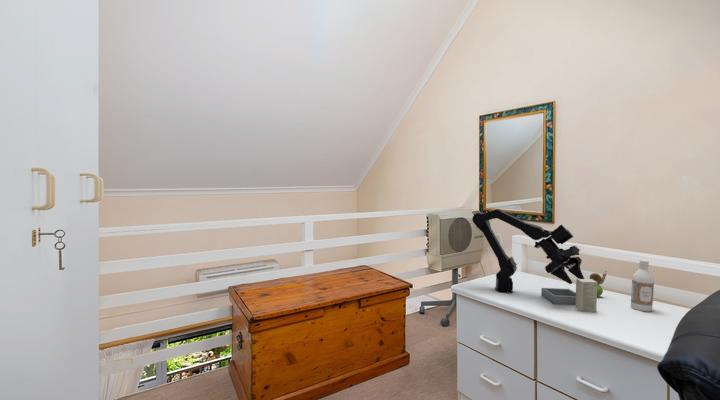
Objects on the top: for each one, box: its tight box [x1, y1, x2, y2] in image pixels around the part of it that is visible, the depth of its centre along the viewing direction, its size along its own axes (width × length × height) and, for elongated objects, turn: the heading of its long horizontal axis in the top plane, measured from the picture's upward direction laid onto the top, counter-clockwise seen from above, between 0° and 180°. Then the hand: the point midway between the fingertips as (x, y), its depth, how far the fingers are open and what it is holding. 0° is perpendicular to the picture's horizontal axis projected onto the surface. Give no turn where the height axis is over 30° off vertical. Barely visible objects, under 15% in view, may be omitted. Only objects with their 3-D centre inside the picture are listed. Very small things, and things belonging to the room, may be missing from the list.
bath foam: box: [630, 259, 655, 313], centre depth 145 cm, size 7×7×20 cm
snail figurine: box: [589, 270, 607, 297], centre depth 161 cm, size 5×6×12 cm
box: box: [540, 287, 576, 306], centre depth 155 cm, size 12×12×4 cm
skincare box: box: [574, 278, 598, 313], centre depth 143 cm, size 6×4×12 cm
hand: (577, 282), depth 146 cm, fingers open, 9 cm apart
